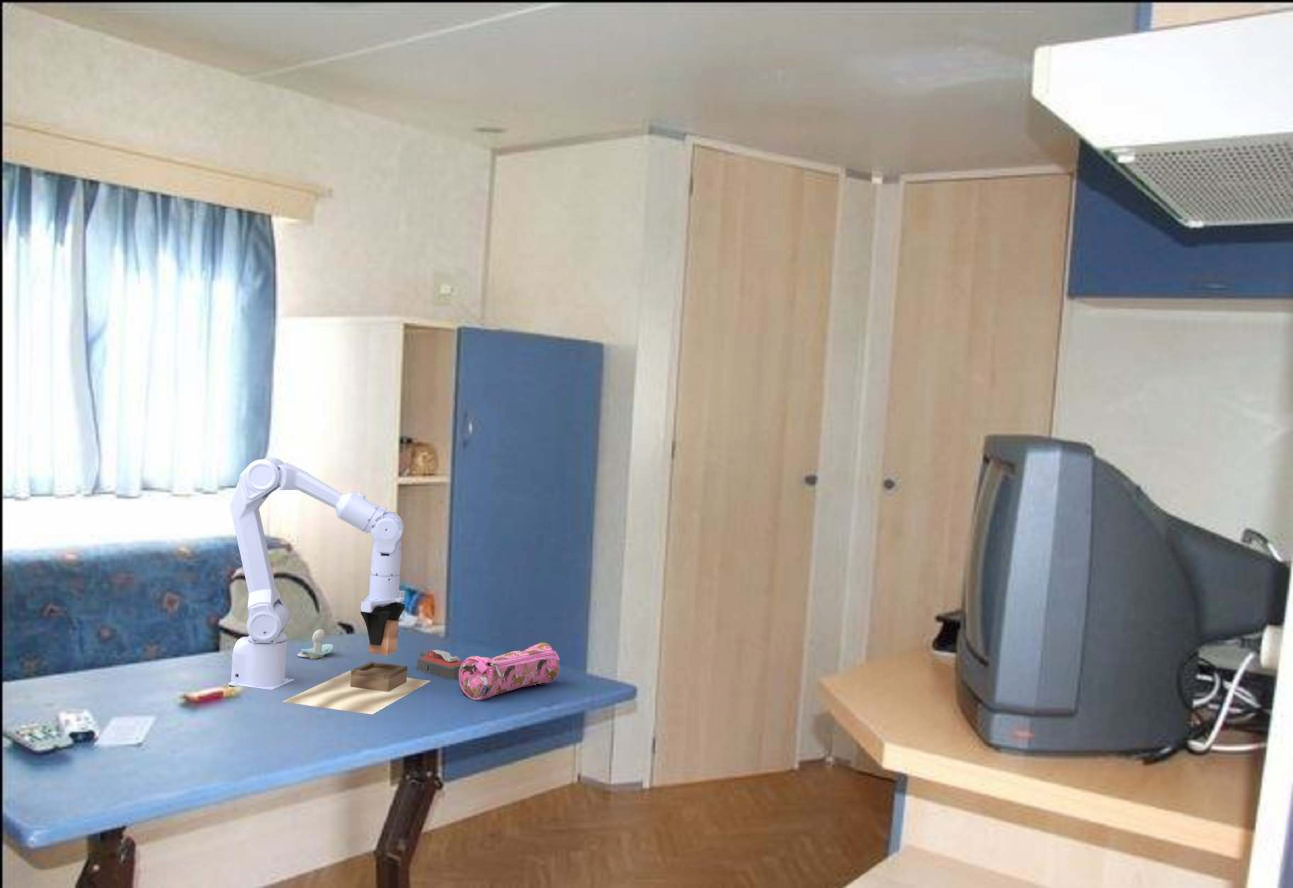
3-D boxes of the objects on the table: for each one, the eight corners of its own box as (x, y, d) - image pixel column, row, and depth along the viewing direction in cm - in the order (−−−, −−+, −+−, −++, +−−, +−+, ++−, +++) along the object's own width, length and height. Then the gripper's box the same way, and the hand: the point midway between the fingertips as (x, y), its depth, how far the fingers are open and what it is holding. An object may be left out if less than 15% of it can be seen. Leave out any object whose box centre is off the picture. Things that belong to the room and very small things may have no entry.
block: (368, 652, 200) (370, 622, 200) (378, 648, 204) (380, 618, 204) (387, 655, 199) (389, 625, 199) (396, 651, 203) (398, 621, 203)
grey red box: (485, 676, 217) (423, 658, 229) (486, 656, 217) (424, 638, 229) (454, 683, 210) (392, 664, 222) (455, 662, 210) (393, 644, 222)
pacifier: (291, 657, 221) (309, 661, 218) (292, 628, 221) (310, 632, 218) (317, 651, 228) (336, 655, 224) (318, 623, 228) (337, 627, 224)
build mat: (282, 704, 187) (283, 684, 186) (350, 672, 211) (351, 654, 211) (372, 717, 183) (373, 696, 183) (431, 683, 207) (432, 665, 207)
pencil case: (485, 706, 194) (488, 660, 194) (453, 695, 200) (456, 651, 200) (562, 688, 211) (565, 645, 211) (531, 678, 217) (533, 637, 217)
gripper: (386, 581, 193) (382, 652, 194) (419, 570, 207) (415, 637, 208) (352, 577, 195) (348, 648, 195) (388, 567, 209) (384, 633, 209)
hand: (381, 642), depth 202 cm, fingers closed on block, 4 cm apart
